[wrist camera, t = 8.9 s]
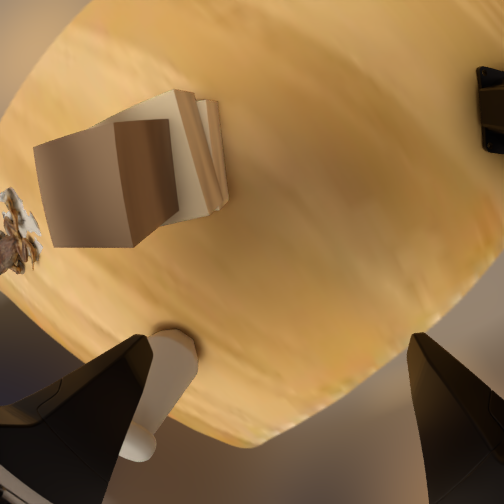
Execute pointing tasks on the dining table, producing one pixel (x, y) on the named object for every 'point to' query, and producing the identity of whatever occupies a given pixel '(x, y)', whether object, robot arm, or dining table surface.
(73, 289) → the dining table surface
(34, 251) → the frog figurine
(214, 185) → the beech slab upper
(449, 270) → the dining table surface
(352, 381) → the dining table surface
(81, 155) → the walnut cube
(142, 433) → the salt shaker
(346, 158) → the dining table surface
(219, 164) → the beech slab lower
